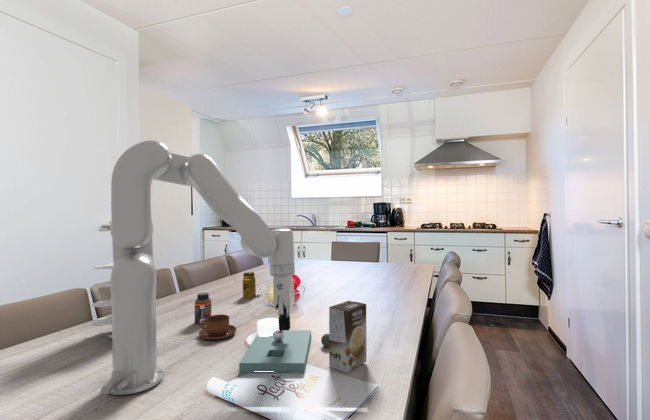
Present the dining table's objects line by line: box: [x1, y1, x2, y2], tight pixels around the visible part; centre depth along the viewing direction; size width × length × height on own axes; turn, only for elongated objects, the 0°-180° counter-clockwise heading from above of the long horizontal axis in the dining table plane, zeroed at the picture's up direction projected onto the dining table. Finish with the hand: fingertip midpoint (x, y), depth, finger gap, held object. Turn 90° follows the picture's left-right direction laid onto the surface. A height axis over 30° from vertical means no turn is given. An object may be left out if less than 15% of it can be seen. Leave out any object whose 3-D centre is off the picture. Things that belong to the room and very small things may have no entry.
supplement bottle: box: [194, 292, 213, 326], centre depth 127 cm, size 6×6×11 cm
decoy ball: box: [320, 333, 329, 348], centre depth 105 cm, size 4×4×4 cm
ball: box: [273, 329, 284, 341], centre depth 103 cm, size 3×3×3 cm
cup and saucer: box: [198, 314, 237, 341], centre depth 115 cm, size 12×12×6 cm
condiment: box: [242, 271, 261, 300], centre depth 166 cm, size 7×8×12 cm
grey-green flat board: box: [238, 329, 312, 374], centre depth 100 cm, size 24×17×2 cm
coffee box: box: [328, 300, 367, 374], centre depth 92 cm, size 9×6×16 cm
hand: (284, 329), depth 104 cm, fingers closed
